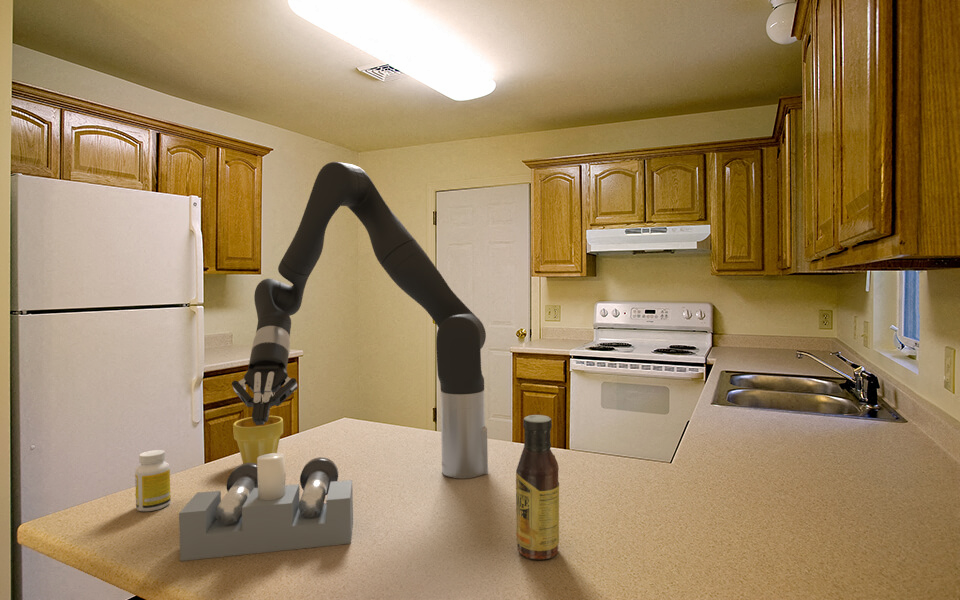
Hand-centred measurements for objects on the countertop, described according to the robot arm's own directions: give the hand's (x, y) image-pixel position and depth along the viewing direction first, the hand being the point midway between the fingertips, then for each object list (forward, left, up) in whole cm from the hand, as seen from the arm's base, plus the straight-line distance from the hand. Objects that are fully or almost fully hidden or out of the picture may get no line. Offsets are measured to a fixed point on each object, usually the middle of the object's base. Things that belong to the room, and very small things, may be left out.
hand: (259, 422), depth 104 cm
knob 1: (0, +17, -11) cm, 20 cm away
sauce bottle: (-45, +35, -14) cm, 58 cm away
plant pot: (+4, -18, -14) cm, 23 cm away
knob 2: (-12, +17, -11) cm, 23 cm away
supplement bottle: (+18, +3, -14) cm, 23 cm away
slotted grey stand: (-6, +22, -13) cm, 26 cm away
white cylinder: (-6, +22, -6) cm, 23 cm away
